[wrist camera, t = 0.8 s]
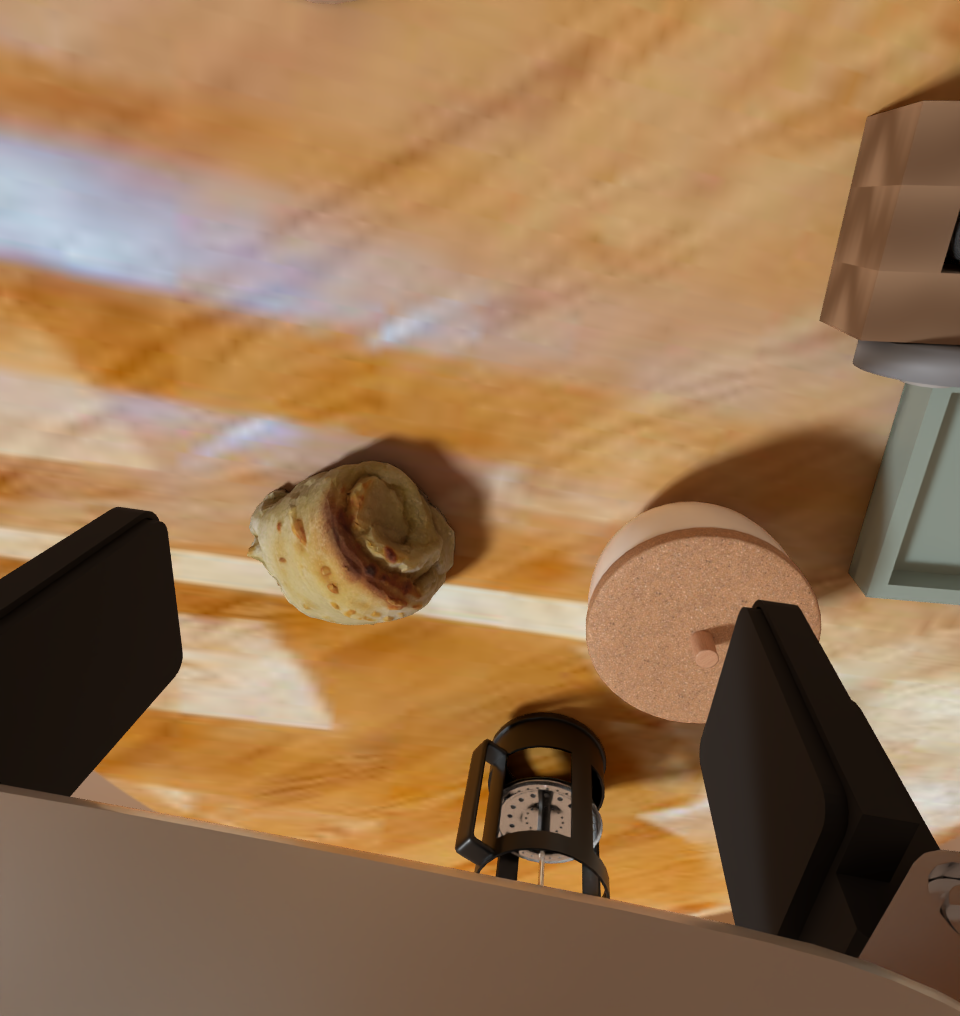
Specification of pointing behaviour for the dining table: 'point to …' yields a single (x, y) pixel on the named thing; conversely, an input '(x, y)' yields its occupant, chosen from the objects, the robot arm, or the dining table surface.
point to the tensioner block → (902, 248)
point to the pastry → (354, 544)
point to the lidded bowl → (682, 603)
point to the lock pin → (954, 243)
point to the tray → (915, 505)
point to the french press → (538, 802)
